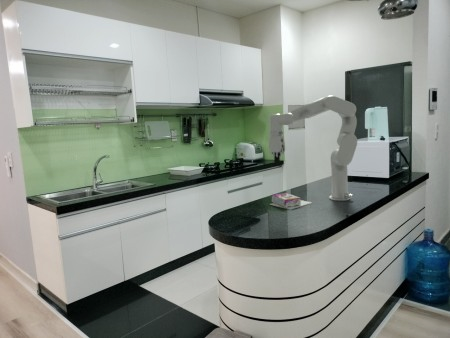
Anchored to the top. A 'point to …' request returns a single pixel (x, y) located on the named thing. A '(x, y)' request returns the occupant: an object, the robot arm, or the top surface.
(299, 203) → the candy bar box
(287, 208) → the mat
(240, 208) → the top surface
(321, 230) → the top surface
